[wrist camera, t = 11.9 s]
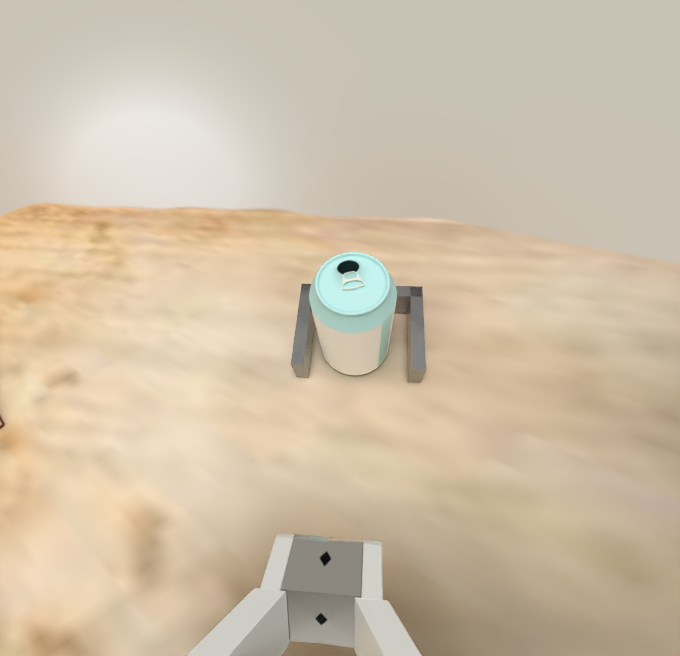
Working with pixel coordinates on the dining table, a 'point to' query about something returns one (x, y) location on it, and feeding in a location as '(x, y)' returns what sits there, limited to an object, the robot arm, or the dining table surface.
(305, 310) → the grey u-shaped bracket
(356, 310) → the can
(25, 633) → the dining table surface
